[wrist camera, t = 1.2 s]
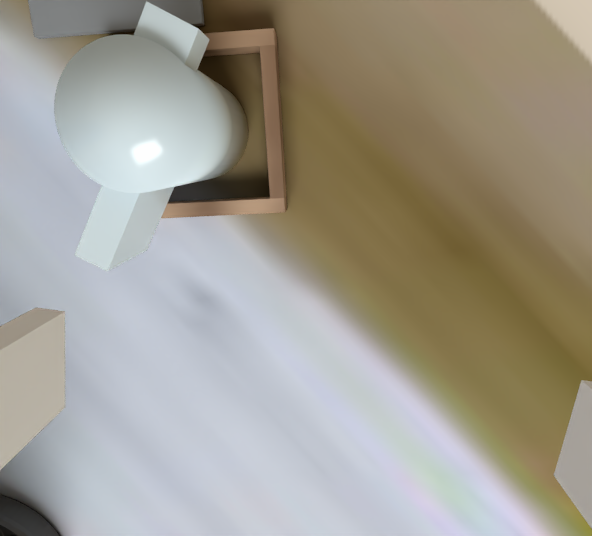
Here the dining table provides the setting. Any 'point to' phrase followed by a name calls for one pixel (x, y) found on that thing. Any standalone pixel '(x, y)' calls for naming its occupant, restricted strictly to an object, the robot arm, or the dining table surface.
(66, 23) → the coaster
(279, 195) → the frame
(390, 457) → the dining table surface
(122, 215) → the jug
